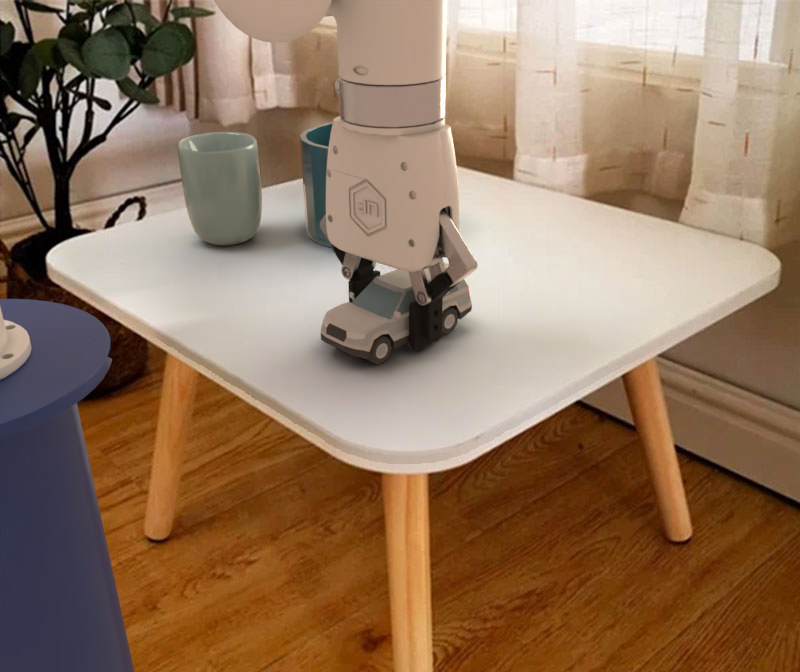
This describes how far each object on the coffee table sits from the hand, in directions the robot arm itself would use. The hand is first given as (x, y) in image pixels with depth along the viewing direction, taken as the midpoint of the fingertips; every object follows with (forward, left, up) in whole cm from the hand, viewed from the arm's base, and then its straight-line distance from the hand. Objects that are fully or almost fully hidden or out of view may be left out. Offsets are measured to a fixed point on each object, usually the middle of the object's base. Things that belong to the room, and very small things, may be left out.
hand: (395, 330), depth 76 cm
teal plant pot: (+17, +20, -1) cm, 26 cm away
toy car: (0, 0, -1) cm, 1 cm away
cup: (+6, +29, -1) cm, 29 cm away
